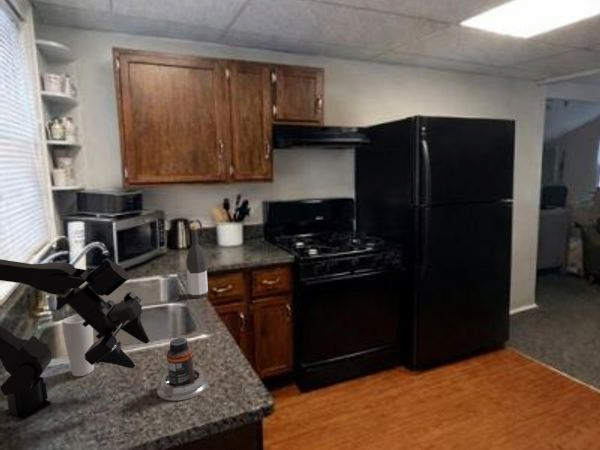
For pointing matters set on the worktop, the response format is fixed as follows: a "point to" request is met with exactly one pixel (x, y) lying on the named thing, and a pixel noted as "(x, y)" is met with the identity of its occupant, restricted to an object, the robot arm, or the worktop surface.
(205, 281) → the wine bottle
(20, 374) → the robot arm
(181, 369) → the supplement bottle
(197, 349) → the worktop surface
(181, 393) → the faceted metal ring
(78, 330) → the drinking glass
